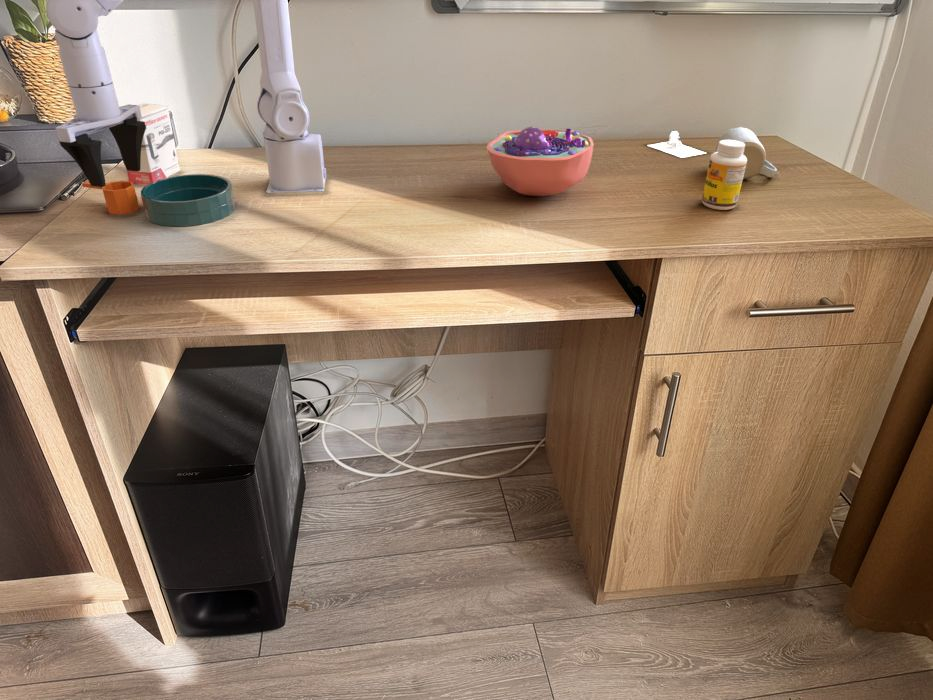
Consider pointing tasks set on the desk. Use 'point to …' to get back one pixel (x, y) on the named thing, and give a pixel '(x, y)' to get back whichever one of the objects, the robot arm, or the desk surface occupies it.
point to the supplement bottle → (725, 175)
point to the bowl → (188, 200)
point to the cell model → (541, 160)
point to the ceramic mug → (750, 152)
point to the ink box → (156, 146)
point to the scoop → (118, 196)
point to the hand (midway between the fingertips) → (116, 177)
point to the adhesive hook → (676, 147)
